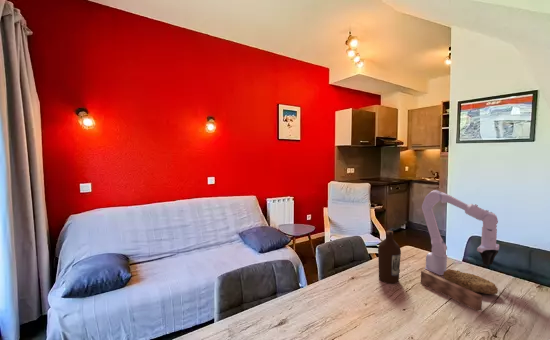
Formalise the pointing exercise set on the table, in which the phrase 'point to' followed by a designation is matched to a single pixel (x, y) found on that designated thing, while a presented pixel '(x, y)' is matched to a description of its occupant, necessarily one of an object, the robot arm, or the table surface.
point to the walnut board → (452, 290)
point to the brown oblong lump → (470, 282)
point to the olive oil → (389, 259)
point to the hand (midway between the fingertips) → (487, 264)
